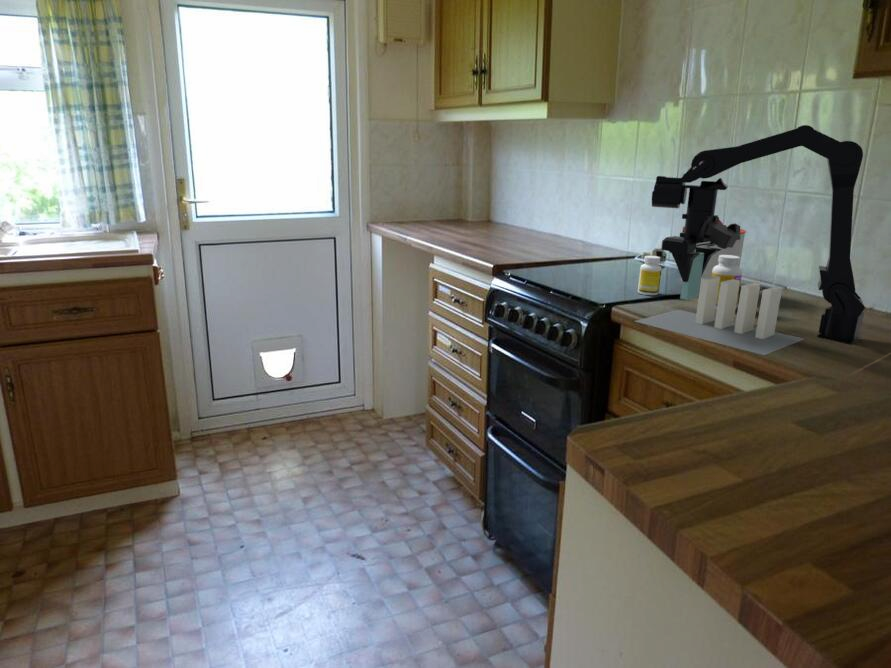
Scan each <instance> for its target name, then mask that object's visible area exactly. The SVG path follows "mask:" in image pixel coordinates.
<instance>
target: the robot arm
mask: <svg viewBox="0 0 891 668" xmlns="http://www.w3.org/2000/svg"><path fill="white" fill-rule="evenodd" d="M798 147H804V148H805V149H807V150H809V151H811V152H813V153H815V154H817V155H820V156H821V157H823V158H825V159H826V161H827V167H828V169H827V170H828V174H829V180H830V185H831V186H830V187H831V206H830V210H831V211H830V224H829V225H830V226H829V227H830V230H829V248H828V250H829V252H828V259H827V262H826V266H824V265H823V266H822V265H818V272H819V280H818V282H817V286H818V290H819V291H821V292H822V296H823V298H824V300H825V301H826V302H827V303H830V304H831V306H828V307H825V311H824V313H823V314H821V318H820V321H819V322H820V323H819V329H818V334H817V335H816V338H819V339H823V340H828V341H833V342H837V343H840V344H841V343H842V344H846V345H852V344H854V343H857V342H859V341H861V340H862V339H863V338H862V337H860V334H861V329H862V324H863V319H864V315H865V312H864V311H865V309H866V307H865V304H864V302H863V300H862V298H861V296H860V295H858V293H857V292H856V286H855V285H856V284H855V278H854V272H853V266H852V261H851V251H852V250H851V249H852V247H851V246H852V229H853V227H852V226H853V213H854V212H853V210H854V209H853V208H854V193H855V192H854V190H855V188H856V187H855V186H856V183H857V180H858V176H859V174H860V169H861V166H862V162H863V157H864V152H863V148H862V146H861V145H859V144H858V143H857V142H855V141H852V140H843V141H840V140H837V139H835V138H833V137H831V136H829V135H827V134H824V133H822V132H820V131H818V130H816V129H815V128H814V127H813V126H811V125H807V124H804V125H800V126H798V127H797V128H794V129H790V130H787V131H784V132H781V133H777V134H774V135H770V136H768V137H764V138H760V139H757V140H754V141H750V142H747V143H743V144H740V145H736V146H731V147H724V148H722V147H721V148H715V149H708V150H701V151H700V152H698V153H696V154H695V155H694V157H693V158H692V160H691V163H690V168H689V169H688V170H687V171H686V172H685V173H683V175H682V177H672V176H671V177H670V176H669V177H668V176H666V175H665V176H664V175H658V176H656V178H655V179H656V180H655V183H654V187H653V191H652V192H651V206H652V207H653V208H664V209H665V208H666V209H680V206H681V205H685V204H686V200H687V206H686V213H681V219H683V220H685V221H684V226H685V229H684V232H680V233H679V236H677V235H673V236H667V237H665V238H664V239H663V240H662V241H661V248H660V250H662V251H666V252H669V253H670V254H671V255H672V258H673V260H674V262H675V264H676V267H677V270H678V273H679V276H680V279H681V278H682V281H683V282H688V279H689V276H690V272H691V268H692V264H693V260H694V258H696V257H697V256H698V255H699V254H700V253H704V260H703V268H702V275H703V272H704V270H705V268H706V266H707V264H708V262H709V260H710V258H711V256H712V255H714V254H715V253H717V252H719V251H720V250H721V249H718V248H716V245H717V246H718V247H720V248H722V249H726V248H729V247H730V248H732V247H733V246H734V244H735V242H736V240H740V234H741V233H740V229H741V225H740V224H737V223H730V224H729V225H728V226H727V225H726V224H723V225H721V224H719V220H720V217H719V215H717V214H715V213H716V212H715V211H716V205H717V197H718V191H726V190H727V189H728V188H729V187H728V185H727V184H726V183H725V182H724V180H723V178H721V177H720V178H718V179H717V180H715V181H713V180H705V179H709V178H712V177H714V176H717V175H719V174H720V173H721V174H722V173H723V172H725V171H728V170H729V169H731V168H733V167H736V166H738V165H740V164H743V163H745V162H750V161H752V160H753V161H754V160H757V159H759V158H760V159H761V158H763V157H767V156H770V155H774V154H778V153H781V152H784V151H788V150H791V149H794V148H798ZM699 179H704V180H701V182H700V185H697V184H696V185H693V184H690V183H693V182H696V181H697V180H699ZM687 183H688V184H687ZM688 190H689V191H688ZM687 193H688V198H687ZM698 252H699V253H698ZM702 275H701V277H702Z"/></svg>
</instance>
